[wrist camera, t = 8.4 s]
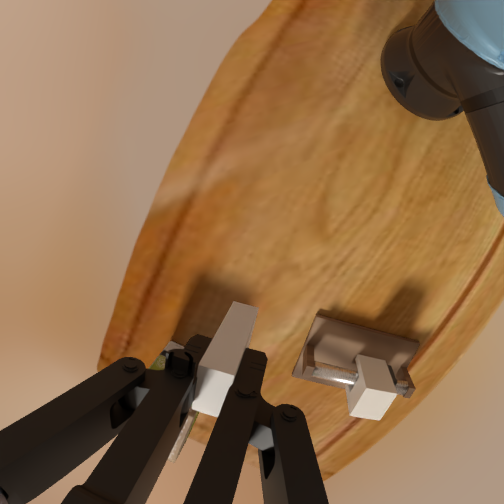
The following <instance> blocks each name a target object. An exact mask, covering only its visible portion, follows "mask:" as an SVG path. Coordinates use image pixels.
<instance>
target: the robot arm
mask: <svg viewBox="0 0 504 504" xmlns="http://www.w3.org/2000/svg"><path fill="white" fill-rule="evenodd" d="M381 71H382V75H383V78H384V81H385V83H386V85H387V87H388V89H389V90H390V92H391V94H392V95H393V96H394V98H395V99H396V100H397V101H398V102H399V103H400V104H401V105H402V106H403V107H404V108H406V109H407V110H408V111H410V112H411V113H413V114H415V115H417V116H419V117H422V118H424V119H428V120H436V121H439V120H446V119H449V118H452V117H455V116H457V115H459V114H460V113H461V112H463V111H464V112H465V115H466V117H467V120H468V122H469V125H470V127H471V130H472V132H473V135H474V137H475V140H476V143H477V145H478V148H479V151H480V154H481V157H482V160H483V163H484V166H485V169H486V172H487V176H486V177H487V182H488V185H489V186H490V188H491V190H492V193H493V196H494V199H495V203H496V206H497V208H498V210H499V211H500V213H501V214H502V215H503V217H504V0H435V1H434V2H433V3H432V5H431V6H430V7H429V9H428V10H427V11H426V12H425V14H424V15H423V16H422V18H421V19H420V20H419V21H418V23H417V24H416V25H415V26H410V27H406V28H403V29H401V30H399V31H397V32H396V33H394V34H393V35H392V36H391V37H390V39H389V40H388V41H387V43H386V44H385V46H384V48H383V51H382V54H381ZM258 309H259V308H258V307H254V306H250V305H247V304H243V303H239V302H236V301H233V303H232V305H231V307H230V309H229V310H228V312H227V314H226V316H225V318H224V319H223V321H222V323H221V325H220V327H219V329H218V330H217V332H216V334H215V336H214V338H213V339H212V338H208V337H205V336H202V335H199V334H197V335H195V336H194V337H192V338H190V340H189V341H188V343H187V345H186V346H185V347H184V349H172V350H169V351H168V352H167V353H166V359H165V368H164V370H153V369H146V367H145V364H144V363H143V362H142V361H141V360H139V359H137V358H133V357H124V358H121V359H119V360H117V361H116V362H114V363H113V364H111V365H109V366H108V367H106V368H104V369H103V370H101V371H100V372H98V373H96V374H95V375H93V376H92V377H90V378H88V379H87V380H85V381H83V382H82V383H80V384H78V385H77V386H75V387H73V388H72V389H70V390H68V391H67V392H65V393H63V394H62V395H60V396H58V397H57V398H55V399H53V400H52V401H50V402H48V403H47V404H45V405H43V406H42V407H40V408H38V409H37V410H35V411H33V412H32V413H30V414H28V415H27V416H25V417H23V418H21V419H20V420H18V421H16V422H14V423H13V424H11V425H10V426H8V427H6V428H4V429H3V430H1V431H0V504H26V503H28V502H29V501H31V500H32V499H34V498H36V497H37V496H39V495H40V494H41V493H43V492H44V491H45V490H47V489H48V488H49V487H51V486H52V485H53V484H55V483H56V482H57V481H59V480H60V479H62V478H63V477H64V476H66V475H67V474H68V473H69V472H71V471H72V470H73V469H75V468H76V467H77V466H79V465H80V464H81V463H82V462H84V461H85V460H86V459H88V458H89V457H90V456H91V455H93V454H94V453H95V452H97V451H98V450H99V449H100V448H102V447H103V446H104V445H105V444H106V443H108V442H109V441H110V440H111V439H113V438H114V437H115V436H116V435H118V436H117V437H116V439H115V440H114V441H113V443H112V444H111V446H110V447H109V449H108V450H107V452H106V453H105V455H104V456H103V457H102V459H101V460H100V462H99V463H98V465H97V466H96V467H95V469H94V470H93V472H92V473H91V475H90V476H89V478H88V479H87V481H86V482H85V483H84V484H83V485H77V486H75V487H73V488H72V490H71V491H70V492H69V493H68V494H67V496H66V497H65V499H64V500H63V501H62V503H61V504H145V503H146V501H147V499H148V497H149V495H150V493H151V491H152V489H153V487H154V485H155V483H156V481H157V479H158V477H159V475H160V473H161V471H162V469H163V467H164V465H165V463H166V461H167V459H168V457H169V455H170V453H171V451H172V449H173V447H174V445H175V443H176V441H177V439H178V437H179V435H180V433H181V430H182V428H183V426H184V424H185V422H186V420H187V418H188V414H189V409H190V407H191V405H192V409H193V410H196V411H199V412H202V413H205V414H208V415H211V416H215V417H218V418H217V421H216V423H215V426H214V428H213V431H212V433H211V436H210V439H209V441H208V444H207V446H206V449H205V451H204V454H203V456H202V459H201V462H200V464H199V467H198V469H197V472H196V474H195V476H194V479H193V482H192V484H191V486H190V489H189V491H188V494H187V496H186V499H185V501H184V503H183V504H232V502H233V498H234V495H235V491H236V488H237V484H238V480H239V477H240V473H241V469H242V465H243V462H244V458H245V454H246V450H247V446H248V443H249V444H251V445H253V446H255V447H256V448H258V455H259V464H260V473H261V481H262V490H263V498H264V504H329V503H328V499H327V495H326V491H325V488H324V484H323V480H322V477H321V473H320V469H319V466H318V462H317V458H316V455H315V451H314V447H313V444H312V440H311V437H310V433H309V429H308V426H307V422H306V418H305V415H304V413H303V412H302V411H301V410H300V409H299V408H298V407H296V406H294V405H289V404H281V405H278V406H276V407H275V406H273V405H271V404H269V403H267V402H266V401H265V400H264V399H263V398H262V396H261V393H260V391H261V386H262V381H263V377H264V373H265V368H266V364H267V360H268V359H267V357H266V354H265V353H264V352H261V351H257V350H253V349H249V348H248V347H249V344H250V340H251V336H252V332H253V328H254V324H255V320H256V316H257V312H258Z"/></svg>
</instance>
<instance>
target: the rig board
mask: <svg viewBox="0 0 504 504" xmlns="http://www.w3.org/2000/svg"><path fill="white" fill-rule="evenodd" d="M419 345H420V343H419V341H416V340H412V339H408V338H404V337H400V336H396V335H392V334H388V333H385V332H381V331H377V330H373V329H369V328H366V327H362V326H358V325H354V324H351V323H347V322H343V321H340V320H336V319H332V318H329V317H325V316H322V315H318V314H316V316H315V318H314V321H313V323H312V326H311V328H310V331H309V333H308V336H307V338H306V341H305V343H304V346H303V348H302V351H301V353H300V355H299V358H298V360H297V363H296V365H295V367H294V370H293V372H292V376H293V377H296V378H300V379H304V380H308V381H312V382H316V383H321V384H325V385H329V386H334V387H338V388H343V389H346V388H345V384H342V383H338V382H333V381H329V380H325V379H320V378H316V377H312V376H311V375H312V373H313V371H314V368H315V361H318V362H322V363H326V364H330V365H334V366H338V367H343V368H347V369H351V370H356V371H358V369H357V364H356V360H355V359H356V357H357V355H358V354H359V355H363V356H368V357H372V358H376V359H381V360H385V361H386V364H387V365H391V367H392V369H393V372H394V374H395V377H396V379H398V380H404V381H407V382H408V390H407V392H406V393H405V394H404V395H403V397H405V398H410V397H411V395H412V394H413V392H414V391H415V386H414V384H413V382H412V380H411V377H410V375H409V373H408V371H407V367H408V365H409V363H410V362H411V360H412V358H413V356H414V354H415V353H416V351H417V349H418V347H419Z"/></svg>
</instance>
